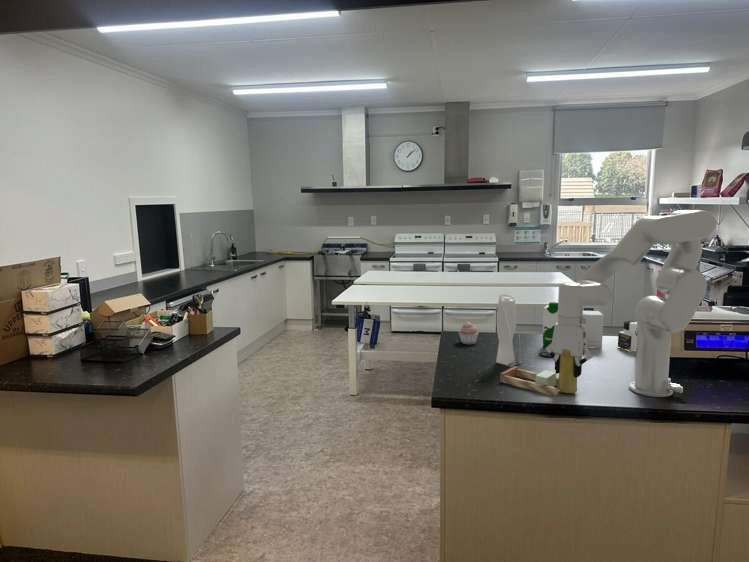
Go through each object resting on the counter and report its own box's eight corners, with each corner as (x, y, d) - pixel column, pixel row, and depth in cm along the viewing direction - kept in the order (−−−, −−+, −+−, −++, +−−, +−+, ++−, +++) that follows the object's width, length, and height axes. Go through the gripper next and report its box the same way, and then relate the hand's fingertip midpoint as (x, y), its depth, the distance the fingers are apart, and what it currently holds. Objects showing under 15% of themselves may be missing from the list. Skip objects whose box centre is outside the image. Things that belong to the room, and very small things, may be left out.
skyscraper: (508, 368, 186) (510, 296, 182) (491, 363, 193) (492, 293, 189) (521, 363, 192) (523, 293, 188) (504, 358, 198) (505, 291, 194)
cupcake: (478, 340, 227) (478, 319, 225) (479, 345, 218) (479, 323, 216) (457, 339, 228) (457, 319, 227) (458, 345, 219) (458, 323, 217)
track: (569, 387, 165) (569, 378, 165) (556, 396, 158) (556, 386, 157) (514, 374, 179) (515, 366, 179) (500, 382, 172) (500, 373, 171)
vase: (578, 394, 157) (580, 351, 155) (559, 392, 158) (560, 350, 156) (575, 387, 163) (576, 346, 161) (555, 386, 164) (557, 345, 162)
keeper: (555, 385, 167) (556, 372, 166) (546, 391, 162) (546, 378, 161) (544, 382, 170) (545, 370, 169) (535, 388, 164) (535, 375, 164)
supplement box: (602, 349, 209) (604, 315, 207) (580, 348, 211) (581, 314, 209) (598, 343, 218) (599, 310, 216) (576, 342, 220) (578, 310, 218)
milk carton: (540, 348, 212) (541, 303, 209) (545, 343, 220) (546, 299, 217) (561, 350, 207) (563, 304, 205) (565, 345, 215) (567, 301, 212)
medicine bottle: (617, 347, 211) (618, 320, 209) (630, 346, 213) (631, 319, 211) (630, 352, 204) (632, 324, 202) (643, 350, 206) (645, 322, 204)
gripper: (601, 322, 154) (598, 377, 157) (549, 315, 166) (547, 366, 168) (593, 326, 149) (590, 383, 151) (539, 319, 160) (537, 371, 163)
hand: (567, 374), depth 160 cm, fingers closed on vase, 5 cm apart
